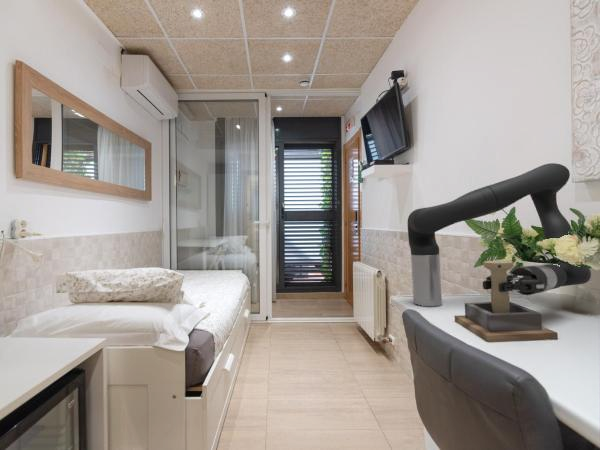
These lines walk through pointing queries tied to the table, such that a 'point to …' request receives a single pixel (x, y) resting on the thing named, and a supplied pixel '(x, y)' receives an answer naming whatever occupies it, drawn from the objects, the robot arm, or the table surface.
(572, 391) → the table surface
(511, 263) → the handle
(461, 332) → the table surface
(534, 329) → the socket base
